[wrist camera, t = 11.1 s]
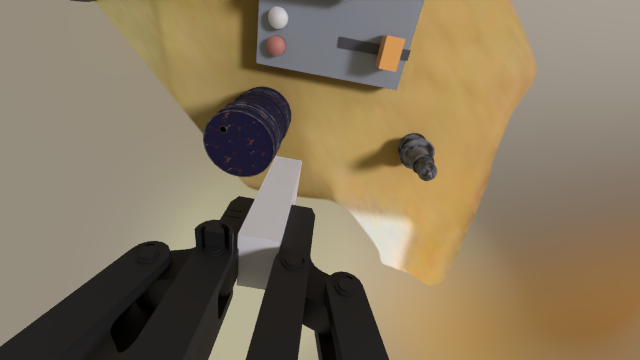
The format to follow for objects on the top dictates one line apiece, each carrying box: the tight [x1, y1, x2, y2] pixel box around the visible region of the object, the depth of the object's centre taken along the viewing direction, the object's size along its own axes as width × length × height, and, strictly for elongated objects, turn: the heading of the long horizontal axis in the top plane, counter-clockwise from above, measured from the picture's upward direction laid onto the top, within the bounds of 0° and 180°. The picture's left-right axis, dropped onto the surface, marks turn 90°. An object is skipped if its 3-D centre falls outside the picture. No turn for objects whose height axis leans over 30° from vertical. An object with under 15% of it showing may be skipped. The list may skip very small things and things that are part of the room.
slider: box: [375, 35, 406, 72], centre depth 37 cm, size 2×4×4 cm, turn 170°
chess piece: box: [398, 133, 437, 181], centre depth 45 cm, size 6×6×12 cm
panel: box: [256, 0, 424, 90], centre depth 38 cm, size 22×18×6 cm
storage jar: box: [203, 87, 291, 177], centre depth 43 cm, size 10×10×15 cm
